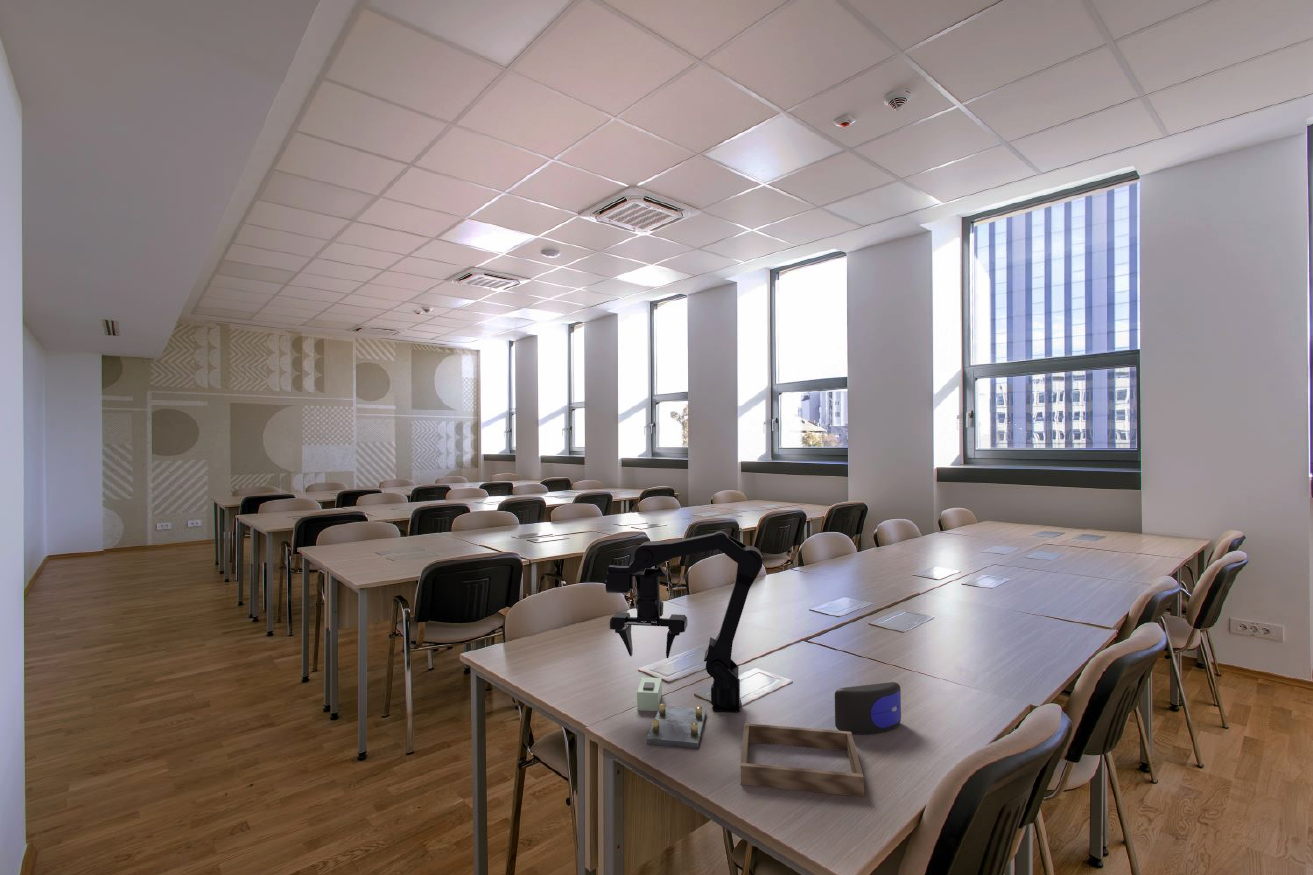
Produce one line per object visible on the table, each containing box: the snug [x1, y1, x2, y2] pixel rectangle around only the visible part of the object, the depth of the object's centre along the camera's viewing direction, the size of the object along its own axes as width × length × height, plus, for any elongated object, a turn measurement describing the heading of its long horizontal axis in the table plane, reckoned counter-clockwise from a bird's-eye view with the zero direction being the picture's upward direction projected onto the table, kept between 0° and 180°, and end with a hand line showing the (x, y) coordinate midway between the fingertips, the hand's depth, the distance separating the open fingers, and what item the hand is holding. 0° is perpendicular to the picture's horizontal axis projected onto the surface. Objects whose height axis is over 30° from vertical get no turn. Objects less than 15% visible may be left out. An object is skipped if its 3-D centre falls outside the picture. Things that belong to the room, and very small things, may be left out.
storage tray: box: [740, 722, 865, 797], centre depth 116 cm, size 22×17×4 cm
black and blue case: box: [834, 681, 902, 735], centre depth 131 cm, size 16×5×9 cm, turn 103°
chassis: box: [645, 702, 707, 749], centre depth 132 cm, size 11×16×3 cm
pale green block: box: [636, 677, 663, 712], centre depth 146 cm, size 5×9×5 cm, turn 174°
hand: (649, 656), depth 146 cm, fingers open, 9 cm apart
